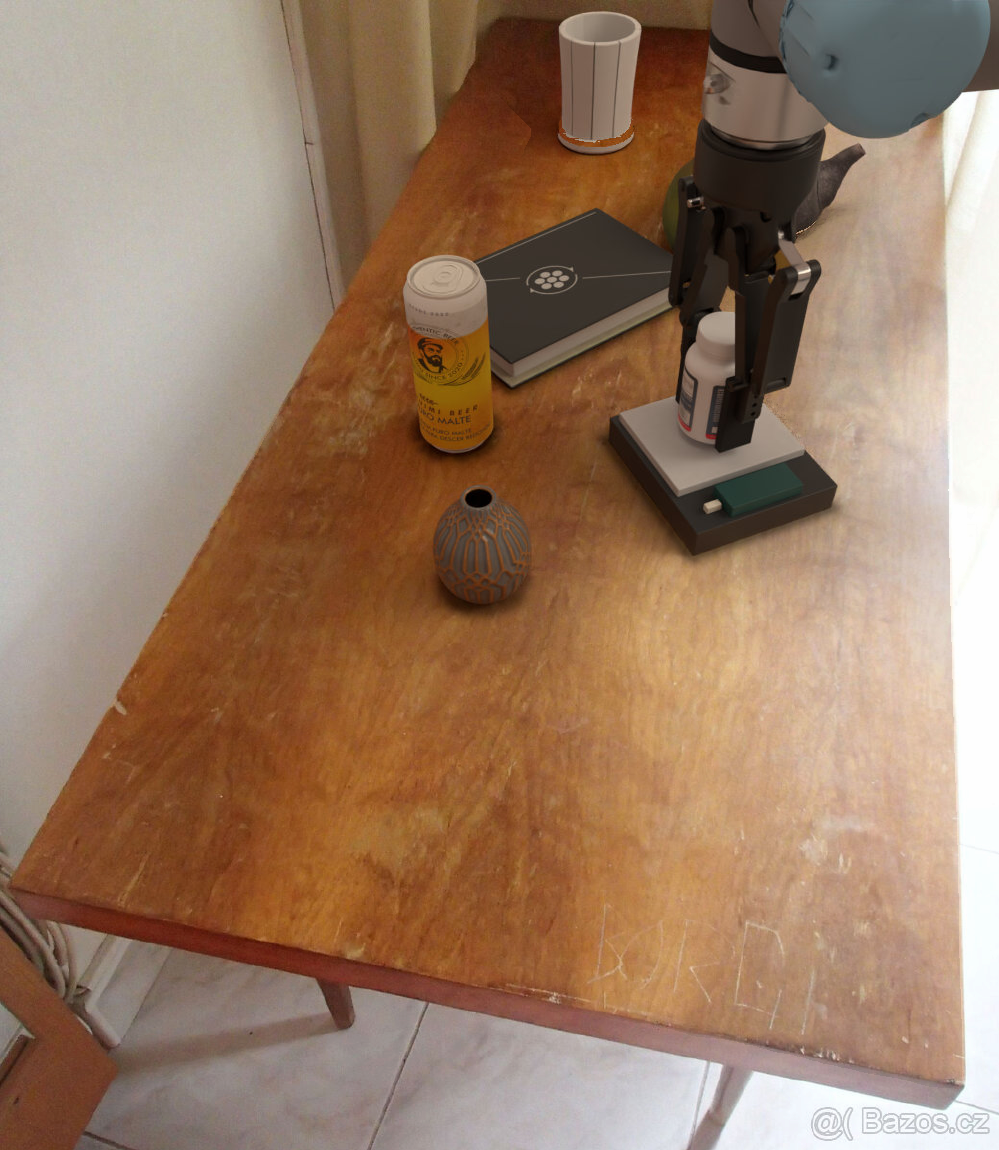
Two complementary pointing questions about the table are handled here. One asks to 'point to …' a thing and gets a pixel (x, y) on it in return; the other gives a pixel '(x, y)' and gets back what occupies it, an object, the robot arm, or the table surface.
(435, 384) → the beer can
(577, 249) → the book
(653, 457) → the scale
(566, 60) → the cup
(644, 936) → the table surface
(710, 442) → the pill bottle
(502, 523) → the vase
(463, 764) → the table surface
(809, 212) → the teapot
